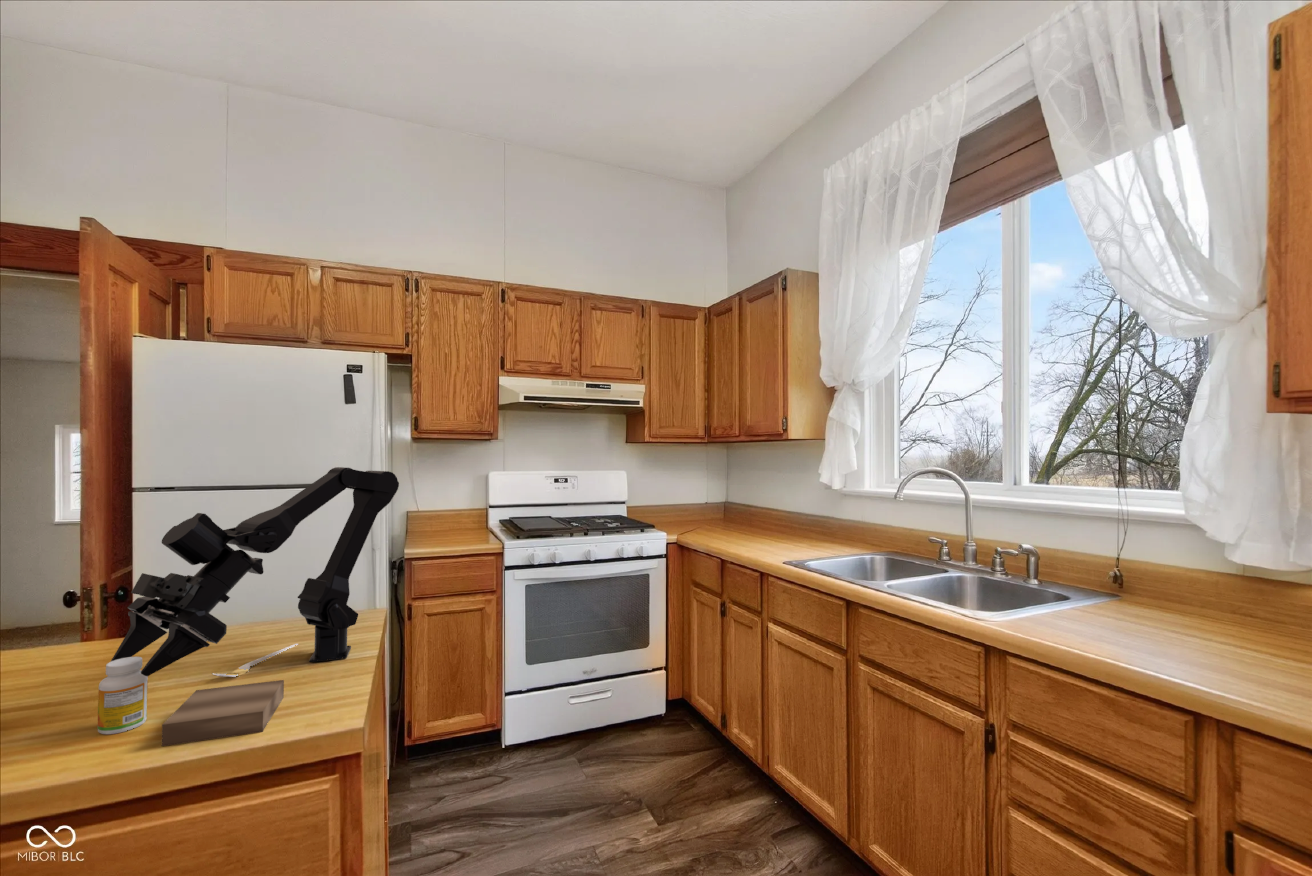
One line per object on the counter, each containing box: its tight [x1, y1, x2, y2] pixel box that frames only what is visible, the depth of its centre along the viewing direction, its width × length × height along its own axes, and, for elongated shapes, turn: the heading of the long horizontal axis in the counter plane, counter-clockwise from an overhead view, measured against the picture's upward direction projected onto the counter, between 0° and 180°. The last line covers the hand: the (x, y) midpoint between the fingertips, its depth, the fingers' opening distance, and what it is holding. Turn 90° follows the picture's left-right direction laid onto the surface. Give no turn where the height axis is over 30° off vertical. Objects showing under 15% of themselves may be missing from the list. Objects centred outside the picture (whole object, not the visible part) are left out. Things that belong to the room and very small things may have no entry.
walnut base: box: [161, 679, 285, 747], centre depth 87 cm, size 12×12×3 cm
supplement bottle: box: [97, 656, 149, 735], centre depth 85 cm, size 5×5×10 cm
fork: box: [211, 643, 299, 678], centre depth 110 cm, size 3×20×2 cm, turn 175°
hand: (128, 669), depth 85 cm, fingers open, 9 cm apart
